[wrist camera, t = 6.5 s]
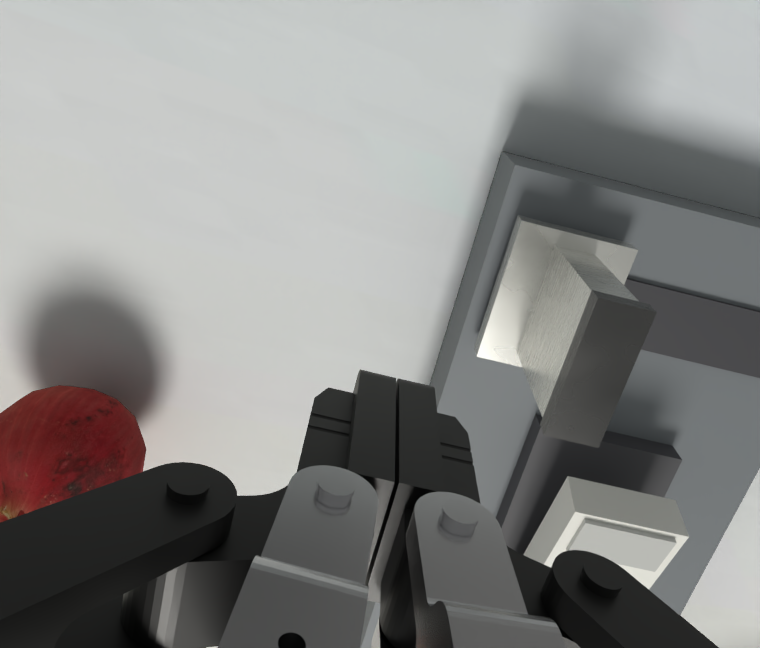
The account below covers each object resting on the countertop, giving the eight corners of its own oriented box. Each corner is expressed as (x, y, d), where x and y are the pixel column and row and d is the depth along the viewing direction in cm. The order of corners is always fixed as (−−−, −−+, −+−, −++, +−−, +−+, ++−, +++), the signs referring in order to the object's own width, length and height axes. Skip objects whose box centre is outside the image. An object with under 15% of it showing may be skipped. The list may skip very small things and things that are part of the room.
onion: (141, 341, 29) (56, 444, 22) (186, 456, 31) (121, 585, 24) (13, 368, 30) (-113, 477, 22) (65, 479, 32) (-34, 612, 24)
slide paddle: (474, 347, 25) (498, 438, 19) (517, 214, 23) (558, 271, 18) (579, 372, 25) (633, 468, 20) (630, 243, 24) (706, 309, 18)
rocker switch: (501, 593, 28) (505, 634, 27) (567, 475, 24) (576, 516, 23) (595, 612, 28) (604, 654, 27) (675, 500, 25) (691, 541, 23)
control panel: (346, 654, 36) (340, 726, 32) (501, 151, 26) (520, 169, 22) (587, 702, 37) (609, 777, 33) (823, 235, 27) (892, 266, 23)
